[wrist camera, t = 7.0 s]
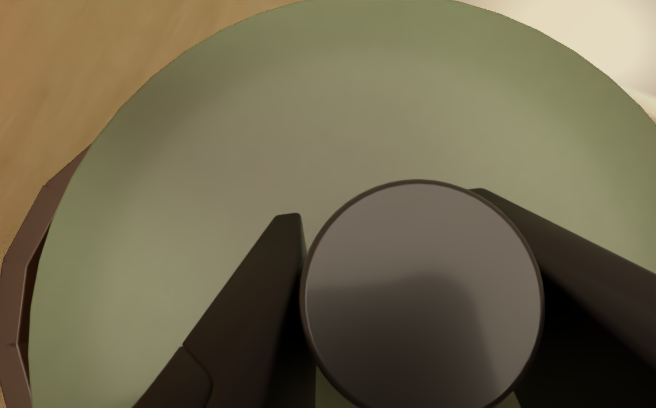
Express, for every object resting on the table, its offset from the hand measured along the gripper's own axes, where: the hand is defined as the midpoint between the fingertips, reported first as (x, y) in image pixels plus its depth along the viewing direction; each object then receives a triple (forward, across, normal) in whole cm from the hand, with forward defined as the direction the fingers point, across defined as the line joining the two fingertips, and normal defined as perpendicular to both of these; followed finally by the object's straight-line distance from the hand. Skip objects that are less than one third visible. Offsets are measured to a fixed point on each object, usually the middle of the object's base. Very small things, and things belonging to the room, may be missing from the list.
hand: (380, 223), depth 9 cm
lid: (+1, 0, +3) cm, 3 cm away
